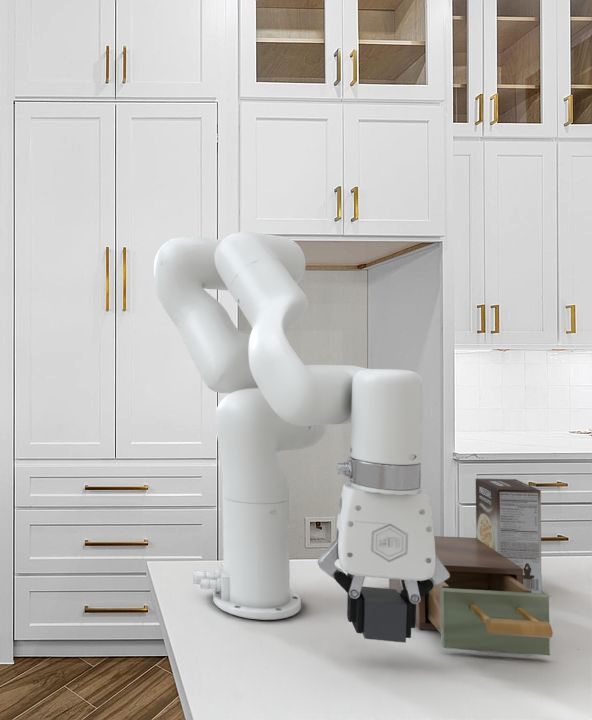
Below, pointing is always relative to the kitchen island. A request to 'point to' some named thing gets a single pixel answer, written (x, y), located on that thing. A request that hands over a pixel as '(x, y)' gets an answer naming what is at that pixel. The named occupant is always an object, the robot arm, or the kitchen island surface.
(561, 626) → the kitchen island surface
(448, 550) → the cabinet
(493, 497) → the coffee box
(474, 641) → the drawer
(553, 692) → the kitchen island surface
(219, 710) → the kitchen island surface
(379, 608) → the block
